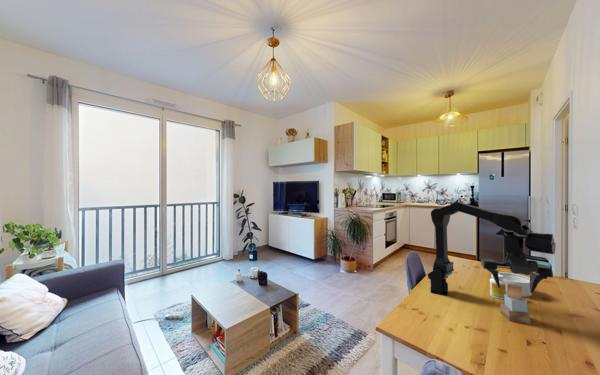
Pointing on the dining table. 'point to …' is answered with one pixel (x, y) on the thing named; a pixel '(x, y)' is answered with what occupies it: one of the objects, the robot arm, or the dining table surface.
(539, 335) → the dining table surface
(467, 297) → the dining table surface
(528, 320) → the walnut base block
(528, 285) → the ramekin
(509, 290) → the terracotta dowel
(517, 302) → the slate block
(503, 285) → the supplement bottle
